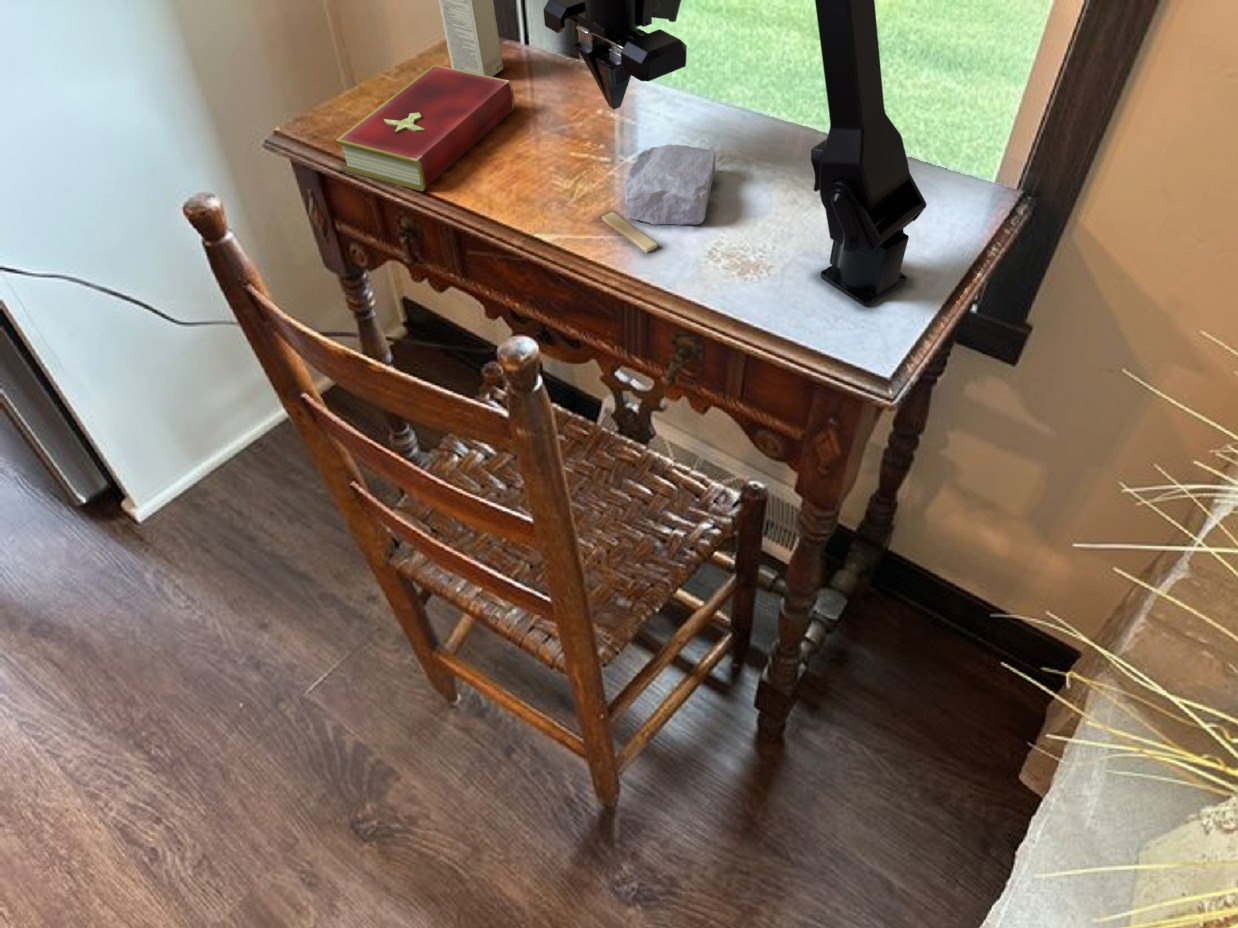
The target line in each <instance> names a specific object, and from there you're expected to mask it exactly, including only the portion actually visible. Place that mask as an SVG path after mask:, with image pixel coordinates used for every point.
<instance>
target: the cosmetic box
mask: <svg viewBox="0 0 1238 928" xmlns="http://www.w3.org/2000/svg"><path fill="white" fill-rule="evenodd" d="M438 5H439V10H440V11H439V12H440V16H441V20H442V25H443V29H444V35H445V41H446V45H447V52H448V56H449V62H450V66H451V67H450V68H454V69H458V70H463V71H467V72H472V73H477V74H481V75H486V76H490V77H495V76H496V75H497V74H498V73H499V72H501V71H502V70H504V63H503V58H502V49H501V44H500V36H499V30H498V29H499V28H498V23H497V16H496V10H495V4H494V0H438Z"/></svg>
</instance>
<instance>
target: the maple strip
mask: <svg viewBox="0 0 1238 928" xmlns="http://www.w3.org/2000/svg"><path fill="white" fill-rule="evenodd" d="M601 219H602V221H603V222H604V223H606V224H607V225H608V226H610V227H611V228H612V229H614V230H615V231H616V232H618V233H619V234H620V235H622V236H623V237H625V238H626V240H627V239H628V241H630V242H631V243H633V244H634V245H636V246H637V247H638V248H640V249H641V250H643V252H645V253H649V252H651V251H653V250H655V249H658V243H657V242H655V241H654V240H653V239H651V238H650V237H648V236H647V235H645V234H644V232H642V231H640V230H639V229H637V228H636V227H635V226H634V225H631V223H629V222H627V220H626V219H623V218H622V217H621V216H619V215H618V214H616V213H615V212H614V211H611V212H609V213H607V214H604V215H603V216H601Z"/></svg>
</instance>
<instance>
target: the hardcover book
mask: <svg viewBox="0 0 1238 928" xmlns="http://www.w3.org/2000/svg"><path fill="white" fill-rule="evenodd" d="M514 109H515V93H514V89H513V85H512V82H511V81H510V80H509V79H505V78H504V79H503V78H499V77H495V76H493V77H490V76H486V75H481V74H477V73H472V72H467V71H463V70H458V69H454V68H452V67H449V66H444V65H439V64H435V63H434V64H433V65H431V66H429V68H427V69H426V70H425V71H423V72H422V73H421V74H419V75H418V76H417V77H416V78H414V79H413V80H412V81H410V82H409V83H408V84H406V85H405V86H404V87H403V88H401V89H400V90H399V91H398V92H396V93H395V94H394V95H392V96H391V97H390V98H389V99H387V100H385V102H383V103H382V104H380V105H379V106H378V107H376V108H375V109H374V110H373V111H371V112H370V113H369V114H368V115H365V117H364V118H362V119H361V120H360V121H358V122H357V123H356V124H355V125H353V126H352V127H351V128H349V129H348V130H347V131H345V132H344V133H343V134H341V135H340V136H338V137H337V138H336V139H335V140H334V141H335V143H336V145H341V149H342V151H343V156H344V159H345V162H346V164H345V165H344V166H343V167H342V169H343V171H346V172H349V173H352V174H355V175H359V176H365V177H367V178H371V179H376V180H379V181H383V182H386V183H390V184H392V185H393V184H394V185H397V186H402V187H404V188H409V189H412V190H416V191H419V192H424V191H425V190H426V189H427V188H428V187H429V186H430V185H431V184H433V183H434V182H435V181H436V180H437V179H438V178H440V177H441V176H442V174H444V173H445V172H446V171H447V170H448V169H449V168H450V167H452V166H453V165H454V164H455V163H456V162H457V161H458V160H459V159H460V158H461V157H462V156H464V155H465V154H466V153H467V152H468V151H469V150H471V148H473V147H474V146H475V145H476V144H477V143H478V142H479V141H480V140H481V139H482V138H484V137H485V136H486V135H487V134H488V133H489V132H490V131H492V129H493V128H495V127H496V126H497V125H498V124H500V122H501V121H503V120H504V119H505V118H506V117H507V116H508V115H509V114H510V113H512V112H513V111H514Z"/></svg>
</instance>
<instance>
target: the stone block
mask: <svg viewBox="0 0 1238 928" xmlns="http://www.w3.org/2000/svg"><path fill="white" fill-rule="evenodd" d="M716 155H717V152H716V151H715V150H714V149H712V150H709V149H706V148H700V147H695V146H689V145H681V144H666V145H665V144H664V145H660V146H653V147H650V148H648V149H645V150H643V151H641V152H640V153H638V154H637V156H636V161H635V162H633V164H632V165H631V167H630V169H629V171H628V173H627V176H626V179H625V181H624V184H623V189H624V204H625V208H626V209H627V212H628V214H629V215H630V216H631V218H632V219H633V220H636V221H640V222H644V223H648V224H651V225H654V226H655V225H656V226H659V225H678V226H683V225H686V226H687V225H693V226H695V225H701V224H702V223H703V222H704V221H705V219H706V213H707V209H708V205H709V200H710V194H711V190H712V189H711V188H712V185H713V181H714V176H715V172H716V157H717V156H716Z"/></svg>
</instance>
